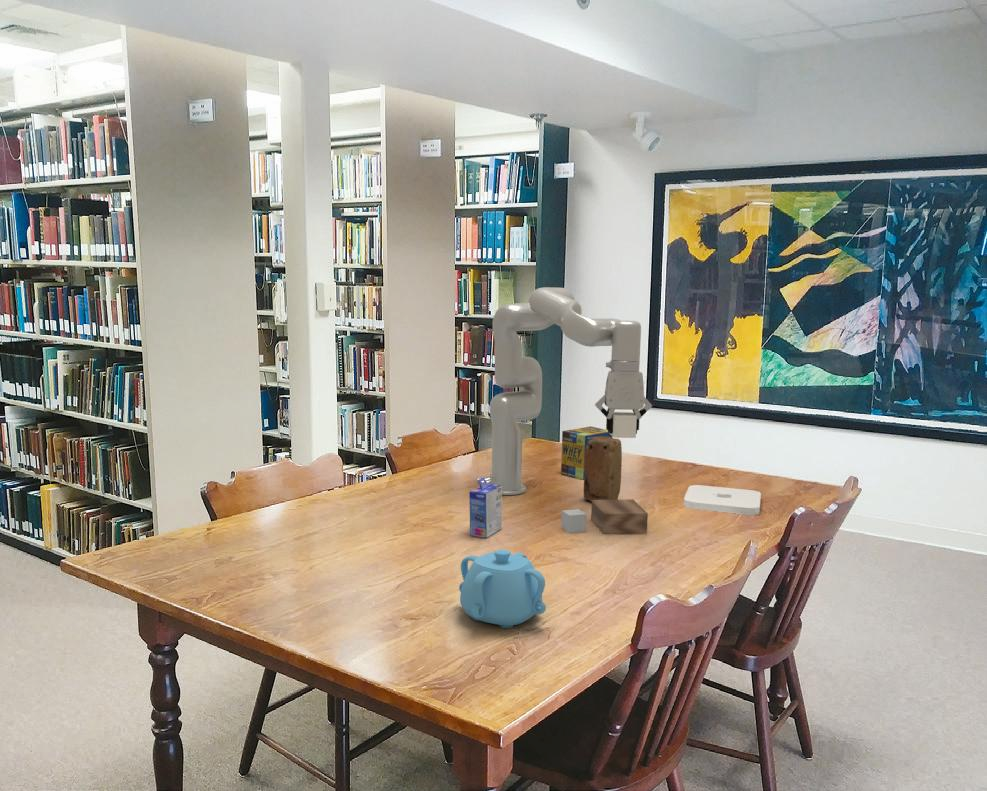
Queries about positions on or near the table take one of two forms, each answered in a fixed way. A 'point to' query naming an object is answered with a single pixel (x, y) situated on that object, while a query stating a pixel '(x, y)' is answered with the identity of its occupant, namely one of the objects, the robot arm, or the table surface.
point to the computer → (723, 499)
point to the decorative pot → (501, 588)
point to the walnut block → (619, 516)
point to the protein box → (577, 449)
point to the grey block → (573, 521)
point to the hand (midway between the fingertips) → (622, 432)
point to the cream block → (624, 425)
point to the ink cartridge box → (485, 509)
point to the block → (602, 469)
